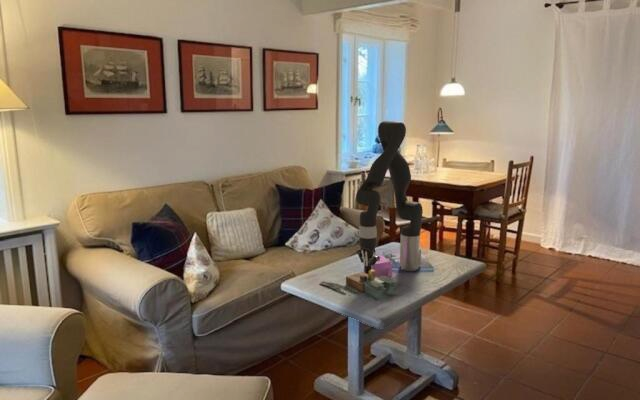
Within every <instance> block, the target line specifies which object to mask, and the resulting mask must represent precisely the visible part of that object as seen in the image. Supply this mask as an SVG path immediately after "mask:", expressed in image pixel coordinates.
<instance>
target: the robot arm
mask: <svg viewBox="0 0 640 400" xmlns="http://www.w3.org/2000/svg"><path fill="white" fill-rule="evenodd" d="M377 133H378V139H379V142H380V145H381V147H382V150H383V152H381V154H380V155H378V157H376V159H375V160H374V161H373V162H372V164H371V166H370V168H369V171H368V174H367V176H366V179H364V181H363V183H362V184H361V185H360V187H359V188H358V190H357V191H356V194H355V200H356V203H357V204H358V205H360V206H365V207H367V210H363V211H361V212H360V213H359V229H358V237H359V238H358V245H359V247H360V248H358V249H357V250H356V253H357V255H358V258H359V260H360V263H363V272H364V271H365V273H366V274H369V270H371V265H374V264H375V263H376V262H377V260H378V259H379V256H377V252H376V246H378V245H377V243H378V241H377V240H378V238H377V237H378V236H377V234H378V231H377V230H378V229H377V214H378V211H379V208H380V204H381V200H382V199H381V198H382V197H381V195H380V193H379V191H377V190H373V189H376V188H380V187H381V186H382V185H383V182H384V179H385V178H386V176H387V175H386V174H387V171H389V173H388V174H389V176H390V180H391V183H392V188H393V192H394V197H395V199H394V200H395V206H396V213H397V215H398V217H399V219H402V220H404V221H410V222H409V225H405V226H402V227H401V228H400V247H399V252H400V253H399V267H400V266H401V268H402V269H403V271H405V272H406V271H407V272H414V271H417V270H416V269H417V268H418V267H419V265H421V264H422V263H421V262H422V261H421V260H422V259H421V258H422V249H421V248H420V247H421V245H420V242H421V230H422V224H423V222H422V220H423V206H422V204H421V202H417V201H412V200H411V201H410V200H408V198H407V190H408V187H409V186H410V183H411V180H412V174H411V169H410V166H409V163H408V161H407V160H406V158H405V157H404V156H403V155H402V153H401V152H400V151H399V149H400V147H401V145H402V144H403V142H404V140H405V137H406V134H407V127H406V125H405V123H403V122H402V121H398V120H397V121H394V120H383V121H381V122H380V123H379V124H378V128H377ZM369 261H370V262H369ZM401 268H400V269H401ZM402 269H401V270H402Z"/></svg>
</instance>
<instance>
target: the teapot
mask: <svg viewBox="0 0 640 400" xmlns="http://www.w3.org/2000/svg"><path fill="white" fill-rule="evenodd" d="M376 255H377V254H376ZM377 256H379V259H378V260H377V262H376V263H375V264H374V265H371V270H372V269H373V270H375V276H376V277H381V276H386V277H388V278H390V279H392V277H393V267H392V261H391V260H390V259H388V258H387V257H384V256H383V255H381V254H380V255H379V254H378V255H377ZM369 262H370V261H369ZM363 272H365V271H364V270H363Z"/></svg>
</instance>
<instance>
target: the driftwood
mask: <svg viewBox="0 0 640 400" xmlns="http://www.w3.org/2000/svg"><path fill="white" fill-rule="evenodd" d="M321 284H322V285H324V286H327V287H329V289H334V290H336V291H337V292H338V293H341V294H343V296H347V294H346V293H345V292H344V291H343V289H344V290H347V291H349V293H351V294H352V295H353V294H354V295H359V293H361V292H360V291H357V290H355V289H350V287H349V288H348V286H344V285H341V284H339V283H336V282H334V283H333V282H326V281H325V280H322V281H321V282H320V283H319V285H321ZM351 294H348V297H351Z"/></svg>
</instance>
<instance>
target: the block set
mask: <svg viewBox="0 0 640 400" xmlns="http://www.w3.org/2000/svg"><path fill="white" fill-rule="evenodd" d="M368 277H369V274H366V273H365V272H364V271H362V272H358V273H354V274H350V275H348V276H345V285H346V287H349V288H351V289H352V290H354V291H356V292H359V291H360V292H359V293H360V294H364V295H365V296H366V297H369V299H370V298H371V299H372V300H375V301H376V302H377V301H381V300H383V299H387V298H390V297H393V296H396V295H397V283H398V282H397V281H396V280H394V279H392V278H391V279H390V278H388V277H386V276H381V277H376V276H375V278H378V279H380V280H382V281H384V282H385V286H384V285H383V284H381V283H379V282H377V281H374V280H372V279H371V280H368Z"/></svg>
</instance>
